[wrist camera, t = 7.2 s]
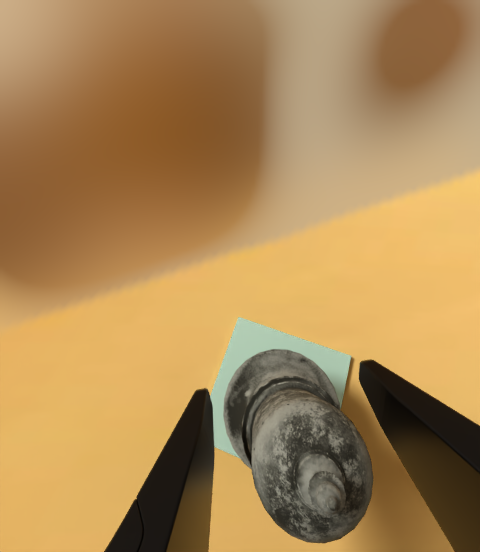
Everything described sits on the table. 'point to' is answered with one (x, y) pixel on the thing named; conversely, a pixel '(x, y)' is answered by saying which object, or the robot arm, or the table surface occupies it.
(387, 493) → the table surface
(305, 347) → the plate
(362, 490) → the grey stone tiered figure
